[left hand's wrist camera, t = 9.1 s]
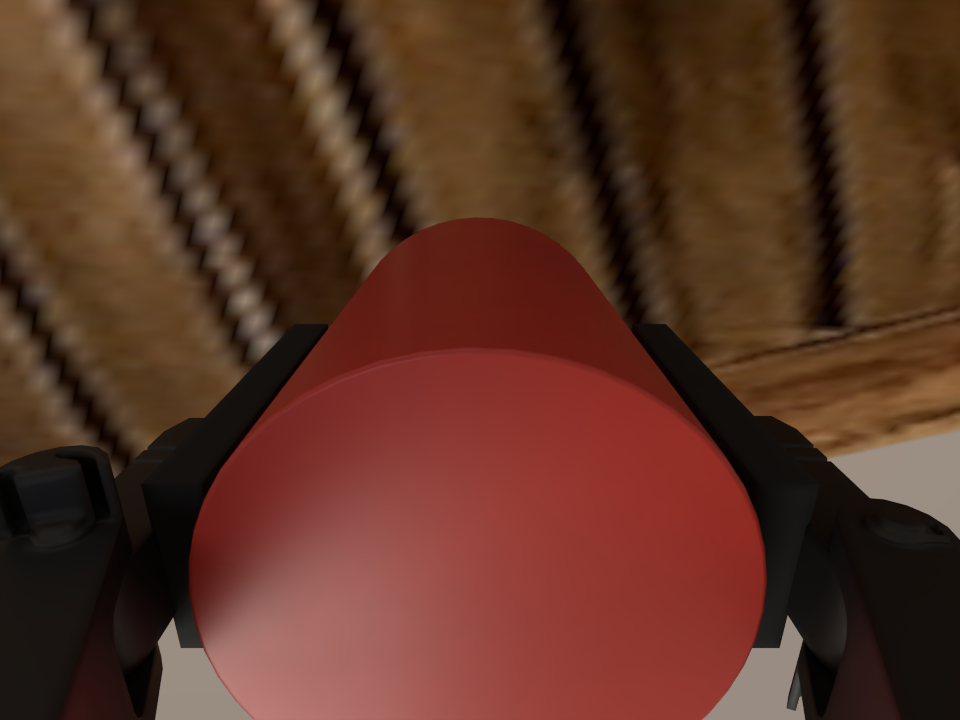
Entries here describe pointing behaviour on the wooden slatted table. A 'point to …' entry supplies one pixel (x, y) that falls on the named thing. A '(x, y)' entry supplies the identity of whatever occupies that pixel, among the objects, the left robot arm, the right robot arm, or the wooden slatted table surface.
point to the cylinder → (477, 510)
